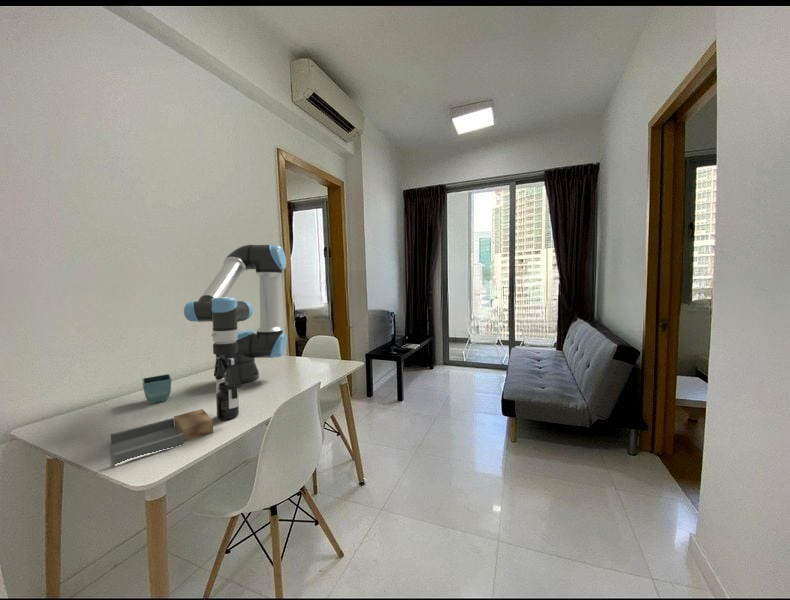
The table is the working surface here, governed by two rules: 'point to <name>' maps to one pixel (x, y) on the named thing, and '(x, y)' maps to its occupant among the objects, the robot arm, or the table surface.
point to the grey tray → (145, 440)
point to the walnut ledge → (193, 424)
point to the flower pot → (157, 388)
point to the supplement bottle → (225, 403)
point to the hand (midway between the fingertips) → (227, 402)
